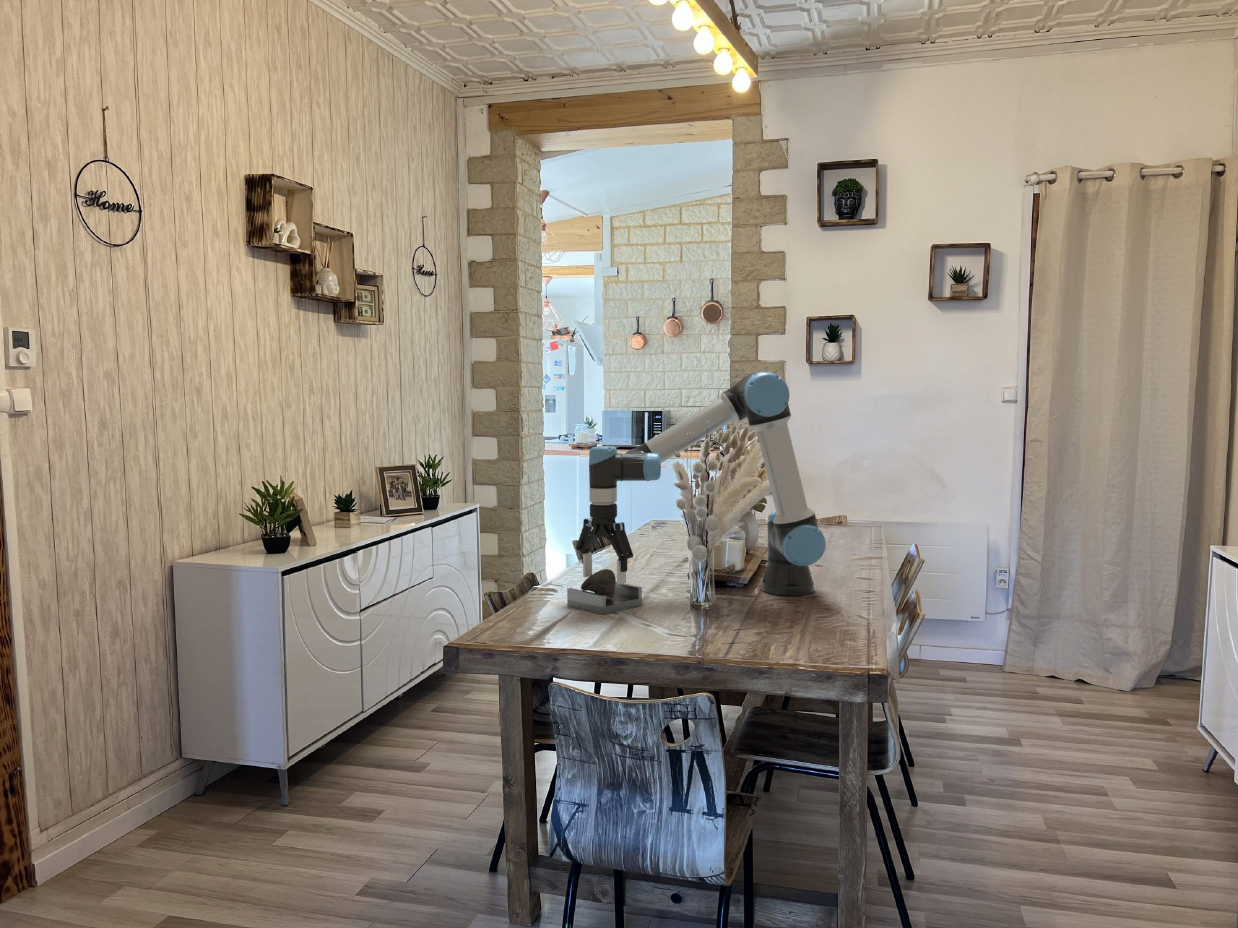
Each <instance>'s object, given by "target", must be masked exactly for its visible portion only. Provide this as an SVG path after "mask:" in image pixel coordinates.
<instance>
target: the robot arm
mask: <svg viewBox="0 0 1238 928" xmlns="http://www.w3.org/2000/svg"><path fill="white" fill-rule="evenodd" d="M789 401H790V389H789V386H788V383H787V382H786V381H785V380H784V379H783V378H782V377H781V376H779V375H778V374H776V373H774V372H770V371H762V372H754V373H750V374H748V375H745V376H744V377H743V378H741V379H740V380H739V381H738V382H736V383H735V384H734V385H732V386H730V387H729V388H727V389H726V390H724V391H723V392H721V394H720V396H719V398H718V399H716V400H715V401H712V402H711V403H710V404H708V405H706V406H704V407H703V408H701V409H699V410H698V411H696V412H694V413H693V414H691V415H689V416H687V417H686V418H684V419H683V420H681V421H679V422H677V423H676V424H673V425H672V426H671V427H668V428H667V429H666V430H664V431H662V432H660V433H659V434H657V435H655V436H654V437H652V438H650V439H649V440H646V442H644V443H642V444H641V445H639V446H637V447H635V448H632V449H629V450H628V451H627V452H626V453H619V452H618V451H617V448H616V447H615V446H611V445H610V446H607V445H605V446H604V445H602V446H601V445H600V446H592V447H591V448H590V449H589V452H588V457H589V459H588V475H589V476H588V477H589V479H588V481H589V482H588V483H589V484H588V485H589V494H588V495H589V496H588V497H589V500H588V501H589V502H590V504H589V517H588V518H584V519H583V523H582V525H583V526H582V529H581V532H580V534H579V538H578V540H577V544H576V547H575V549H576V551H579V552H580V553H581V563H582V575H583V576H582V577H583V578H588V577H589V576H591V575H592V574H593V554H592V551H591V550H592V548H593V547H594V545H595V543H596V542H597V540H598V539H599V538H601V537H602V538H605V539H607V540H608V542H609V544H610V545H611V546H612V549H613V550H614V552H615V554H616V556H617V557H618V559H616V582H617V584H623V583H624V584H627V572H628V560H629V559H631V558H633V557H634V553H633V550H632V547H631V544H630V542H629V539H628V536H627V532H626V527H625V522H623V521H622V522H616V518H617V516H618V504H617V503H616V502H617V501H618V484H617V483H618V482H624V481H625V482H627V481H628V482H631V481H632V482H637V481H638V482H639V481H640V482H642V481H643V482H644V481H645V482H650V481H659V480H660V478H661V476H662V475H661V474H662V473H661V472H662V463H664V462H666V461H668V460H670V459H671V458H673V457H674V456H675V455H674V454H675V451H676V455H678V454H680V453H681V452H683V451H684V450H686V449H688V448H689V447H692V446H693V445H694V444H696V443H699V442H700V441H701V440H703V439H705V438H706V437H705V436H706V434H708V436H710V435H712V434H714V433H715V432H717V431H718V430H721V429H722V428H723V427H726V426H728V425H729V424H731V423H733V422H736V423H740V421H742V420H744V419H746V418H747V421H748V422H747V423H748V425H749V427H750V428H751V429H753V430H754V431H756V436H757V439H758V443H759V447H760V452H761V456H762V459H763V463H764V464H763V465H764V467H765V471H766V476H767V479H768V483H769V488H770V491H771V495H772V496H771V497H772V499H773V503H774V504H773V505H774V508H775V512H771V513H769V514H768V517H767V523H766V525H767V564H766V567H765V571H764V574H763V578H762V579H761V590H762V591H763V592H765V593H767V594H773V595H779V596H802V595H803V596H804V595H809V594H812V593H813V592H814V591H815V582H814V579H813V576H812V572H811V570H810V569H811V568H810V567H809V566H811V565H814V564H815V563H817V562H818V561H819V560H820V559H821V558H822V556H823V555H824V554H825V550H826V545H827V544H826V538H825V535H824V533H823V532H822V530H821V529H820V528H819V525H818V521H817V517H816V513H815V511H814V510H813V509H811V508H809V506H808V504H807V503H808V502H807V500H806V495H805V492H804V487H803V484H802V479H801V476H800V475H801V474H800V470H799V466H798V463H797V459H796V454H795V450H794V446H793V442H792V439H791V438H792V437H791V433H790V430H789V426H788V422H789V420H790V419H791V417H792V414H791V410H790V406H789V405H790V404H789ZM708 421H709V422H708ZM706 423H707V424H708V425H706ZM707 429H708V433H707ZM689 432H694V433H689ZM687 433H688V434H687Z"/></svg>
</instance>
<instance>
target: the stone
mask: <svg viewBox="0 0 1238 928" xmlns="http://www.w3.org/2000/svg"><path fill="white" fill-rule="evenodd" d="M616 582H617V577H616V575H615V572H614V571H613V570H612V569H608V568H607V569H600V570H598V571H597V572H594V573H592V575H591V576H589V577H586V578H585V580H584V581H583V582H582V583H581V586H580V590H583V591H587V592H592V593H596V594H601V595H605V596H609V597H610V598H612V597H613V596H614V592H615V584H616Z"/></svg>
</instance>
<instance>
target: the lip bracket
mask: <svg viewBox="0 0 1238 928" xmlns="http://www.w3.org/2000/svg"><path fill="white" fill-rule="evenodd" d="M642 589H643V588H642V586H638V585H633V584H629V583H623V584H617V581H616V584H615V592H614V596H613V597H612V598H610V597H609V596H605V595H601V594H596V593H594V592H592V591H587V590H586V591H583V590H582V589H577V588H573V587H568V588H566V592H567V593H566V594H567V595H566V596H567V597H566V598H567V599H566V602H567V607H569V608H573V609H576V610H581V611H585V612H588V613H589V612H590V613H593V614H596V615H597V614H598V615H601V616H604V615H607V614H612V613H615V612H620V611H623V610H627V609H630V608H635V607H639V606H642V605H643V595H642V593H643V591H642Z"/></svg>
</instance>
